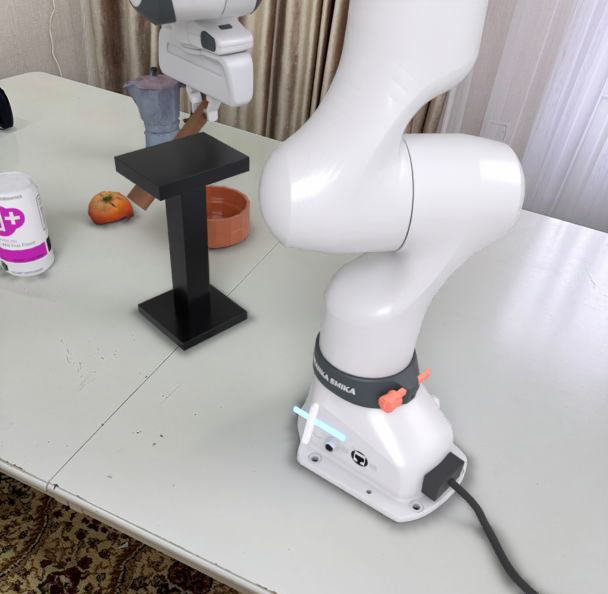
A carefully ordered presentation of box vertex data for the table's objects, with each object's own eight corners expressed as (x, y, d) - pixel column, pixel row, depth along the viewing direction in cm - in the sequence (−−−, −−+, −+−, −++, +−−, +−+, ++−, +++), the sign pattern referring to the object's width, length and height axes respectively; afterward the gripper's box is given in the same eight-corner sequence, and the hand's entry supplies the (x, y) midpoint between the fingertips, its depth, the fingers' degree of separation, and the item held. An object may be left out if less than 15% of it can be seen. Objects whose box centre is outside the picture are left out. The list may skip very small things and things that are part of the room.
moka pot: (130, 155, 138) (118, 60, 124) (199, 150, 142) (195, 58, 128) (135, 174, 131) (123, 76, 118) (207, 169, 135) (204, 73, 122)
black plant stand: (252, 316, 98) (254, 159, 81) (178, 354, 90) (163, 189, 73) (205, 281, 104) (198, 128, 87) (132, 314, 96) (109, 153, 79)
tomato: (74, 213, 114) (91, 177, 114) (94, 222, 121) (110, 188, 121) (109, 231, 113) (127, 195, 112) (127, 239, 120) (144, 205, 119)
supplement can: (39, 282, 100) (17, 198, 91) (-8, 274, 101) (-35, 189, 91) (64, 256, 107) (46, 174, 97) (19, 248, 107) (-3, 166, 98)
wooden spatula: (227, 104, 102) (221, 97, 100) (145, 211, 102) (138, 205, 100) (210, 96, 104) (204, 88, 102) (130, 200, 104) (123, 194, 102)
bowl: (263, 234, 116) (264, 205, 112) (207, 258, 109) (205, 228, 105) (220, 207, 123) (219, 178, 119) (163, 227, 116) (161, 198, 112)
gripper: (144, 12, 97) (153, 101, 106) (226, 46, 87) (228, 142, 96) (178, 7, 101) (183, 94, 110) (261, 39, 90) (259, 132, 99)
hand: (204, 117), depth 103 cm, fingers closed on wooden spatula, 2 cm apart
